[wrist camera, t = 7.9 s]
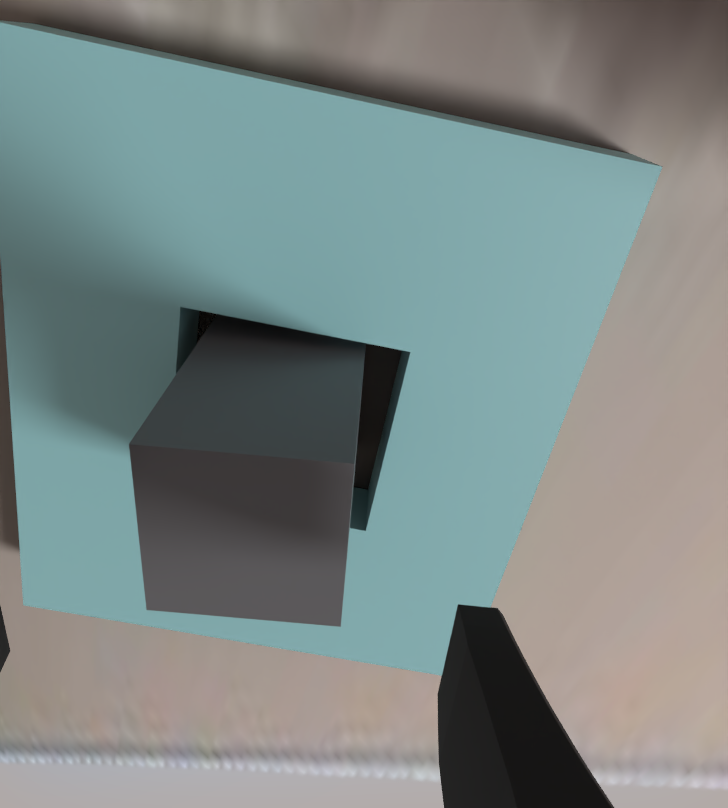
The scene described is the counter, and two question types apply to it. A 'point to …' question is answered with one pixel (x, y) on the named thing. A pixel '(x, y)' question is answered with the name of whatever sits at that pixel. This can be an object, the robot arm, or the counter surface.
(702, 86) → the counter surface
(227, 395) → the plug
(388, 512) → the socket plate
